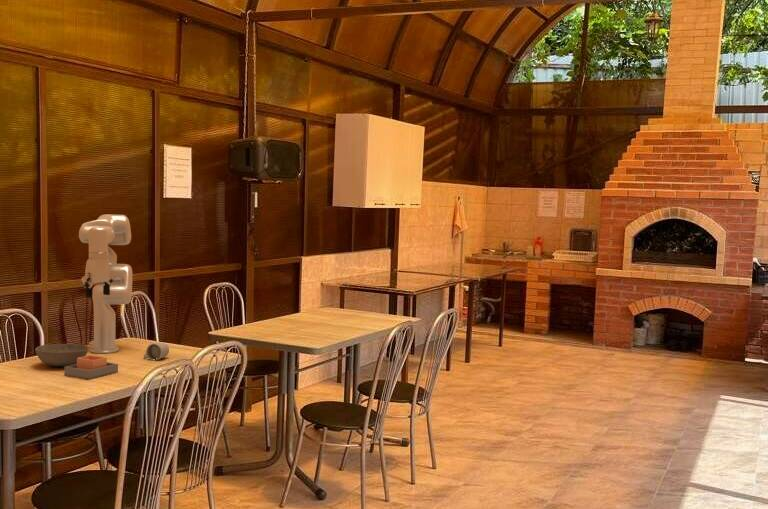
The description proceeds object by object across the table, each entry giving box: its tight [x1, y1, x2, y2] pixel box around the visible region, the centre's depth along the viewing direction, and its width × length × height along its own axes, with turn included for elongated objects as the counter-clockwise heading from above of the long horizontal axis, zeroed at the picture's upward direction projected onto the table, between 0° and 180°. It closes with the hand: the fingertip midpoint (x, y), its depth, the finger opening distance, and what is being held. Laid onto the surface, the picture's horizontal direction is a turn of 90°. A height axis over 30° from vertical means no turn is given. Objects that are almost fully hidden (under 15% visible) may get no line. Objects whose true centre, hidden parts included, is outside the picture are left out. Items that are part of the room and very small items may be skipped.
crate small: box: [76, 354, 108, 370], centre depth 305 cm, size 9×7×6 cm
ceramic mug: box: [143, 342, 170, 361], centre depth 338 cm, size 11×8×8 cm
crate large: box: [63, 362, 119, 380], centre depth 305 cm, size 13×15×4 cm
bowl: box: [34, 343, 90, 367], centre depth 319 cm, size 21×21×8 cm
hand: (97, 296), depth 319 cm, fingers open, 9 cm apart
